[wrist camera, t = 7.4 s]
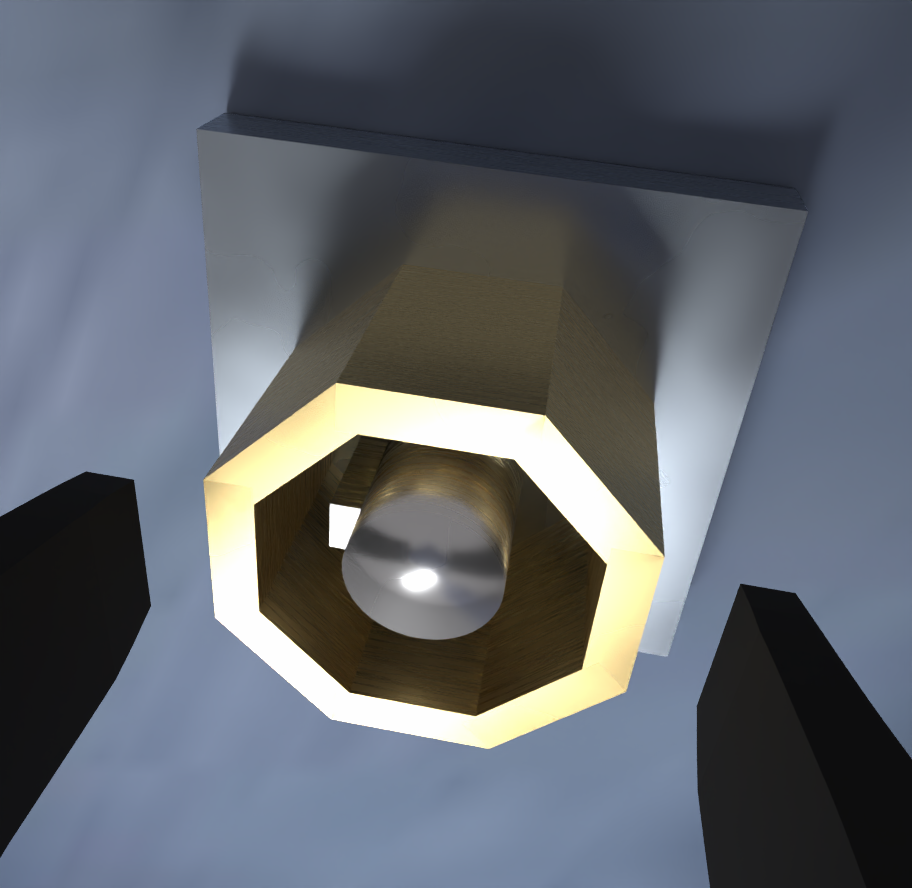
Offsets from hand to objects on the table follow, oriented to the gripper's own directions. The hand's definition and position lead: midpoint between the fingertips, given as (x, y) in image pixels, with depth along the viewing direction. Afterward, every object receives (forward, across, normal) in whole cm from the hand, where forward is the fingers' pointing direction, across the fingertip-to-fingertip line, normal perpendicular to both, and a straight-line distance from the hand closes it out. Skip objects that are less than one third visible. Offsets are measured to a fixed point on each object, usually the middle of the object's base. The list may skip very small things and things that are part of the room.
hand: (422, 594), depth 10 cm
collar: (+4, 0, 0) cm, 4 cm away
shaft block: (+5, 0, 0) cm, 5 cm away
